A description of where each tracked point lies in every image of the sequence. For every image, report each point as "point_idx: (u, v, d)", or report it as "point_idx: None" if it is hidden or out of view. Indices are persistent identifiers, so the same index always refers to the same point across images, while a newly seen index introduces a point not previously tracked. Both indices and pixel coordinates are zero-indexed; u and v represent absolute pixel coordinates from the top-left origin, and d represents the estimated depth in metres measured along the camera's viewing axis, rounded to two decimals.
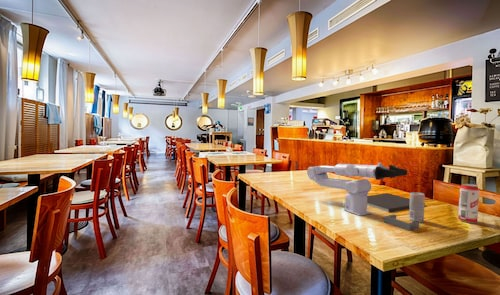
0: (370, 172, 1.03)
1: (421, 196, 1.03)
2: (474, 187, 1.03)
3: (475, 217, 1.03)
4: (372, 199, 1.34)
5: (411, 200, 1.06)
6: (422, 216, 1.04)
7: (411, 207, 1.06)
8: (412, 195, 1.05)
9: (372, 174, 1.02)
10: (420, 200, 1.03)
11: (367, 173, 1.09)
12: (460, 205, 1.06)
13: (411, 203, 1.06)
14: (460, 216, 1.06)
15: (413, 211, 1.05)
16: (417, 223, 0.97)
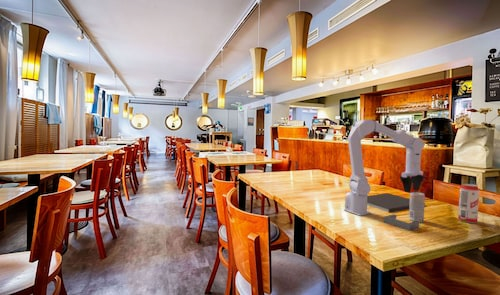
0: (404, 174, 1.12)
1: (421, 196, 1.03)
2: (474, 187, 1.03)
3: (475, 217, 1.03)
4: (372, 199, 1.34)
5: (411, 200, 1.06)
6: (422, 216, 1.04)
7: (411, 207, 1.06)
8: (412, 195, 1.05)
9: (402, 176, 1.13)
10: (420, 200, 1.03)
11: (408, 163, 1.15)
12: (460, 205, 1.06)
13: (411, 203, 1.06)
14: (460, 216, 1.06)
15: (413, 211, 1.05)
16: (417, 223, 0.97)
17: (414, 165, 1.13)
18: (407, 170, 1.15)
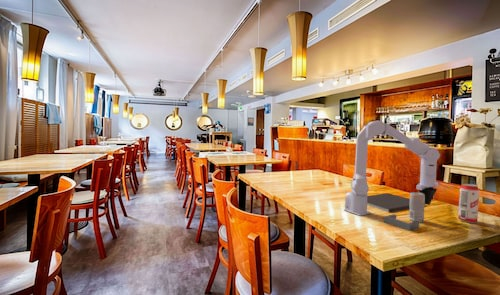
0: (419, 187, 1.06)
1: (421, 196, 1.03)
2: (474, 187, 1.03)
3: (475, 217, 1.03)
4: (372, 199, 1.34)
5: (411, 200, 1.06)
6: (422, 216, 1.04)
7: (411, 207, 1.06)
8: (412, 195, 1.05)
9: (417, 188, 1.07)
10: (420, 200, 1.03)
11: (423, 175, 1.09)
12: (460, 205, 1.06)
13: (411, 203, 1.06)
14: (460, 216, 1.06)
15: (413, 211, 1.05)
16: (417, 223, 0.97)
17: (429, 177, 1.07)
18: (422, 182, 1.09)
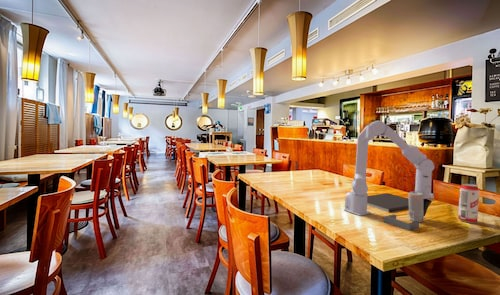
0: None
1: (419, 196, 1.03)
2: (474, 187, 1.03)
3: (475, 217, 1.03)
4: (372, 199, 1.34)
5: (410, 200, 1.05)
6: (422, 216, 1.04)
7: (410, 207, 1.05)
8: (410, 195, 1.05)
9: None
10: (419, 200, 1.03)
11: (417, 186, 1.07)
12: (460, 205, 1.06)
13: (410, 203, 1.05)
14: (460, 216, 1.06)
15: (412, 211, 1.05)
16: (417, 223, 0.97)
17: (424, 188, 1.05)
18: None
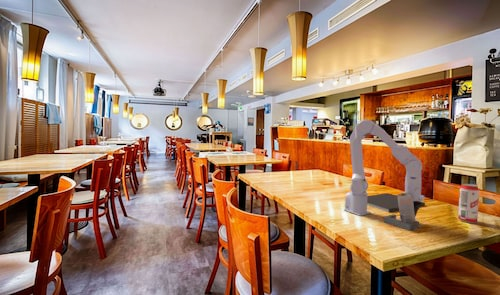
0: None
1: (409, 199, 0.98)
2: (474, 187, 1.03)
3: (475, 217, 1.03)
4: (372, 199, 1.34)
5: (399, 204, 1.01)
6: (413, 218, 1.00)
7: (401, 210, 1.01)
8: (400, 199, 1.00)
9: None
10: (409, 203, 0.99)
11: (407, 188, 1.03)
12: (460, 205, 1.06)
13: (400, 207, 1.01)
14: (460, 216, 1.06)
15: (403, 214, 1.01)
16: (417, 223, 0.97)
17: (414, 190, 1.01)
18: None
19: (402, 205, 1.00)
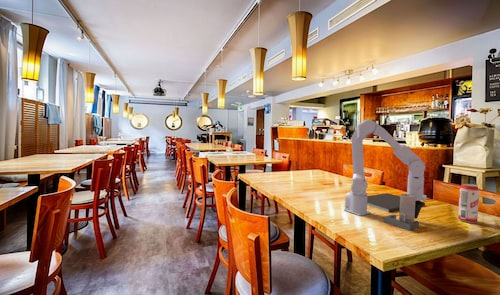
0: None
1: (412, 198, 0.99)
2: (474, 187, 1.03)
3: (475, 217, 1.03)
4: (372, 199, 1.34)
5: (402, 202, 1.02)
6: (413, 219, 1.00)
7: (401, 210, 1.02)
8: (403, 197, 1.01)
9: None
10: (411, 202, 0.99)
11: (410, 187, 1.04)
12: (460, 205, 1.06)
13: (402, 206, 1.02)
14: (460, 216, 1.06)
15: (403, 214, 1.01)
16: (417, 223, 0.97)
17: (416, 190, 1.02)
18: None
19: (404, 204, 1.01)
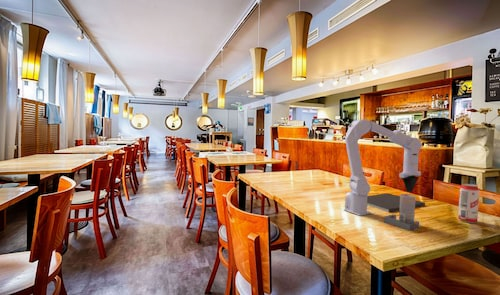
0: (402, 175, 1.11)
1: (412, 198, 0.99)
2: (474, 187, 1.03)
3: (475, 217, 1.03)
4: (372, 199, 1.34)
5: (401, 203, 1.02)
6: (413, 219, 1.00)
7: (401, 210, 1.02)
8: (402, 197, 1.01)
9: (400, 176, 1.12)
10: (411, 202, 0.99)
11: (405, 164, 1.14)
12: (460, 205, 1.06)
13: (401, 206, 1.02)
14: (460, 216, 1.06)
15: (403, 214, 1.01)
16: (417, 223, 0.97)
17: (412, 165, 1.12)
18: (405, 170, 1.14)
19: (404, 204, 1.01)
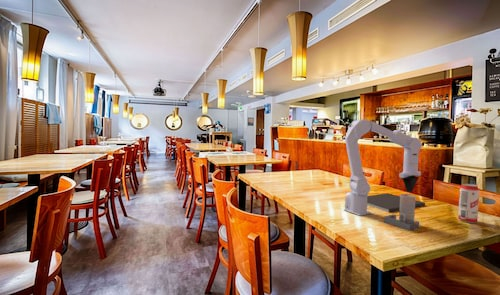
0: (402, 175, 1.11)
1: (412, 198, 0.99)
2: (474, 187, 1.03)
3: (475, 217, 1.03)
4: (372, 199, 1.34)
5: (401, 203, 1.02)
6: (413, 219, 1.00)
7: (401, 210, 1.02)
8: (402, 197, 1.01)
9: (400, 176, 1.12)
10: (411, 202, 0.99)
11: (405, 164, 1.14)
12: (460, 205, 1.06)
13: (401, 206, 1.02)
14: (460, 216, 1.06)
15: (403, 214, 1.01)
16: (417, 223, 0.97)
17: (412, 165, 1.12)
18: (405, 170, 1.14)
19: (404, 204, 1.01)
